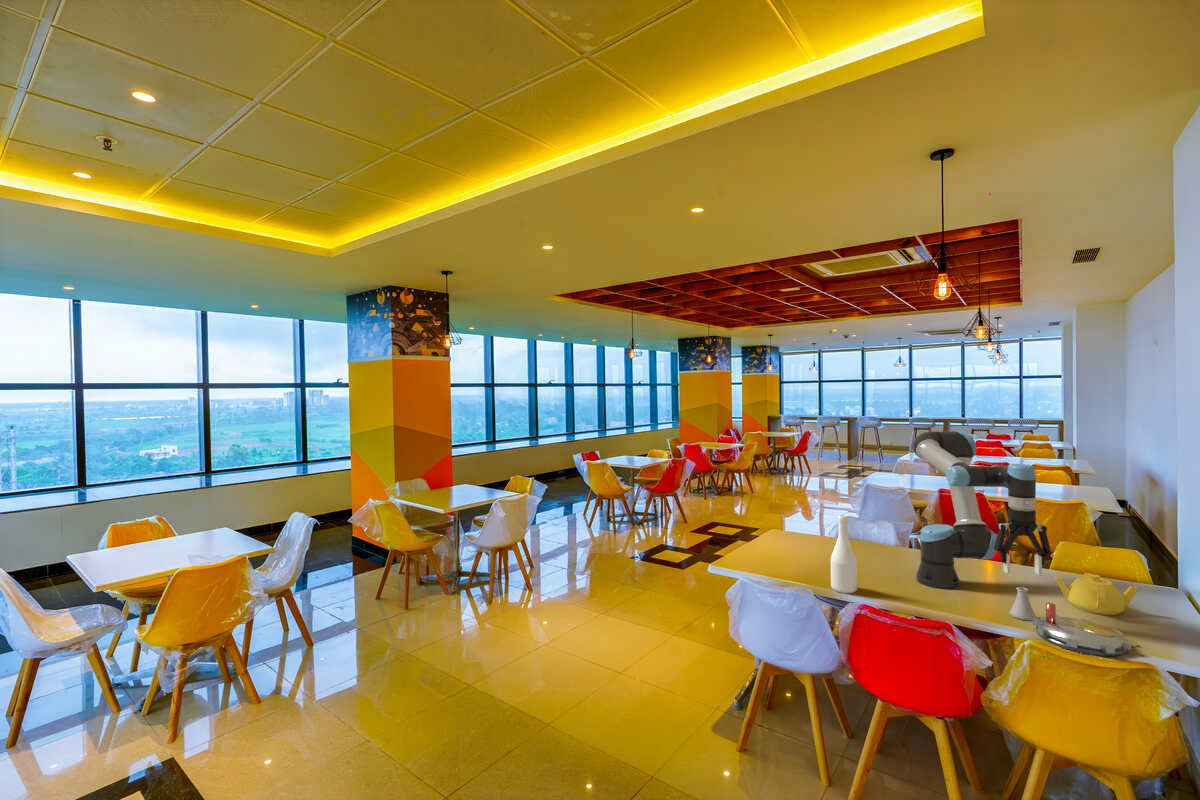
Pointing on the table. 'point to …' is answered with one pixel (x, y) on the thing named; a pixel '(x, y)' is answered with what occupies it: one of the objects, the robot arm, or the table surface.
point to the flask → (1022, 606)
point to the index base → (1087, 651)
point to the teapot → (1096, 595)
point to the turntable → (1080, 632)
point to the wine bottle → (843, 561)
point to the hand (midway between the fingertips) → (1022, 573)
